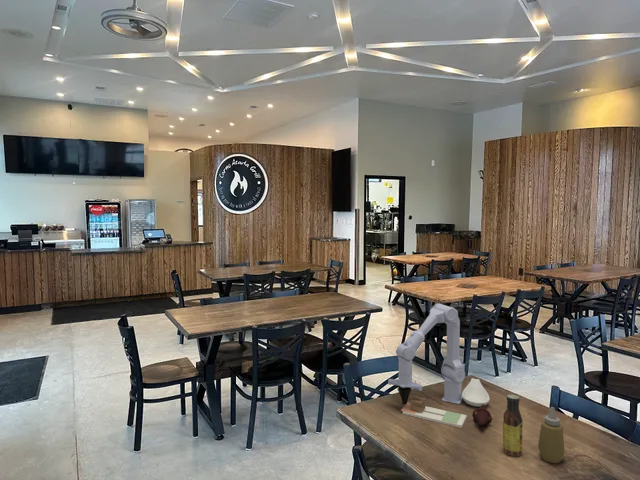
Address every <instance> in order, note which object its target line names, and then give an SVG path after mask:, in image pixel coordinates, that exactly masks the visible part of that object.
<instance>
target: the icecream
mask: <svg viewBox="0 0 640 480" xmlns="http://www.w3.org/2000/svg"><path fill="white" fill-rule="evenodd" d="M471 415H472V419H473V422H474V423H476V424H477V425H478V426H482V427H487V426H488V425H489V424H491V423H492V421H493V418H492V414H491V413H490V411H488V409H487V407H486V405H484V404H483V405H481V407H478V408H476V409H475V410H473V411H472V414H471Z"/></svg>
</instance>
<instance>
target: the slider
mask: <svg viewBox="0 0 640 480" xmlns="http://www.w3.org/2000/svg"><path fill="white" fill-rule="evenodd" d="M409 401H410V402H409V403H410V410H413V411H418V412H423V410H424V409H425V406H426V398H424V397H420V396H413V397H412V398H411V399H410V400H409Z"/></svg>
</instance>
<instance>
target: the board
mask: <svg viewBox="0 0 640 480" xmlns="http://www.w3.org/2000/svg"><path fill="white" fill-rule="evenodd" d="M400 412H402V415H404V414H406V415H405V416H409V415H410V417H413V416H414V418H417V417H418V419H421V418H422V420H425V421H431V422H434V423H440V424H444V425H447V426H452V427H456V428H460V429H462V428H463V426H464V424H465V423H466V422H465V421H466V420H467V414H463V413H458V412H453V411H448V410H444V409H439V408H435V407H431V406H426V405H425V409H424V410H423V412H418V411H413V410H410V402H409V401H407V404H406V405H404V406H403V407H402V408H401V409H400Z"/></svg>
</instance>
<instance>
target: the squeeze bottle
mask: <svg viewBox="0 0 640 480" xmlns="http://www.w3.org/2000/svg"><path fill="white" fill-rule="evenodd" d="M564 439H565V438H564V429H563V426H562V425H561V419H560V418H559V417H558V416H557V413H556V408H555V407H553V406H550V408H549V411H548V414H547V415H545V416H544V421H542V422H541V424H540V431H539V439H538V444H537V445H538V446H537V448H538V451H539V453H540V456H541V458H542V459H543V460H544V461H545V462H548V463H552V464H559V463H560V462H561V461H562V459H563V457H564V455H565V451H566V450H565V441H564Z"/></svg>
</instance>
